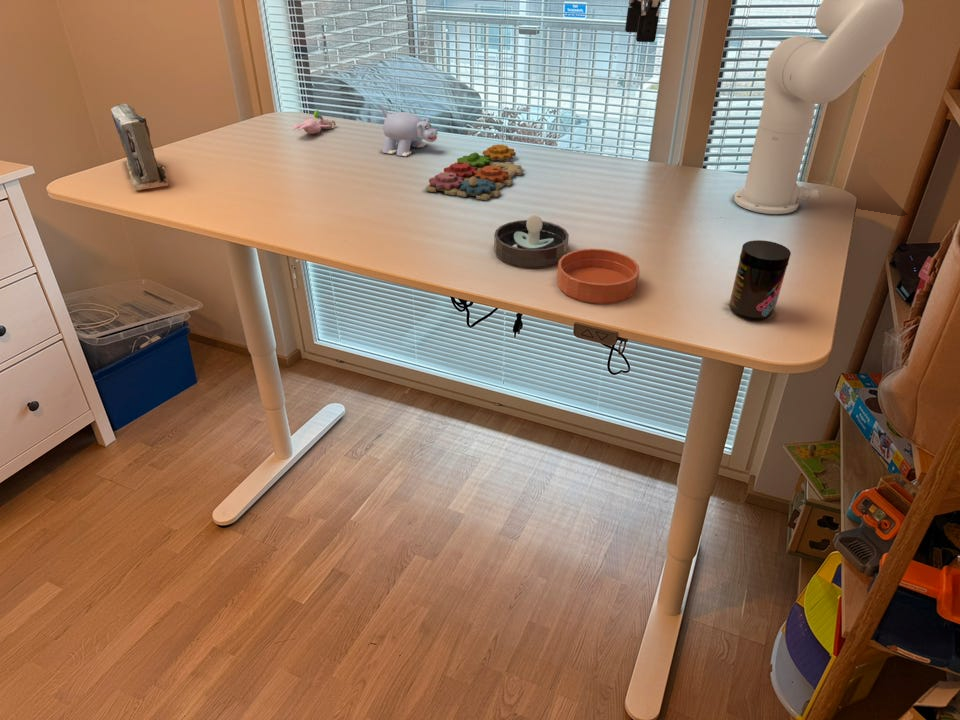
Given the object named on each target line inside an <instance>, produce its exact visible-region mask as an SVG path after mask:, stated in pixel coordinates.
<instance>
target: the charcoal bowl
mask: <svg viewBox="0 0 960 720" xmlns="http://www.w3.org/2000/svg"><path fill="white" fill-rule="evenodd" d="M527 220H528V219H522V220H515V221H509V222H507V223H504V224H501V225H500V226H499V227H497V228H496V229H495V231H494V234H493V235H494V236H493V241H494V242H493V252H494V254H495V255H496V257H498V259H499V260H501V262H503V263H505V264H507V265H510V266H512V267H517V268H523V269H543V268H544V269H545V268H549V267H552V266H556V265H558V261H559V260H560V259H561V258H562V256H564V255H566V254H568V249H569V238H570V237H569V236H570V235H569V232H568V231H567V230H566V229H565V228H564V227H563V226H560V225H559V224H555V223H552V222H550V221H545V220H542V222H543V226H542V229H541V231H540V238H539V240H543V239H550V238H553V239H554V241H553V242H552V243H551V244H549V245H547V246H545V247H543V248H544V249H535V250H534V249H523V247H519V248H517V247H512V246H513V245H515V244H517V243H516V242H515V240H514V233H515V232H518V231H519V232H524V233H526V234H528V230H527V226H526V223H527ZM522 238H523V239H526V238H525V237H522Z"/></svg>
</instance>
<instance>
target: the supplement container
mask: <svg viewBox="0 0 960 720" xmlns="http://www.w3.org/2000/svg"><path fill="white" fill-rule="evenodd" d="M791 254H792V252H791V250H790V249H789V248H787V246H785V245H783V244H781V243H778V242H775V241H769V240H762V239H761V240H760V239H756V240H749V241H746V242H745V243H743V244H742V246H741V251H740V254H739V259H738V265H737V269H736V273H735V277H734V280H733V281H734V282H733V286H732V291H731V294H730V299H729V303H728V306H729V310H730V311H731V313H732V314H733V315H734V316H735V317H738V318H740V319H742V320H745V321H751V322H763V321H767V320H769V319H771V318H772V317H773V315H774V314H775V310H776V308H777V304H778V300H779V297H780V294H781V289H782V286H783V283H784V279H785V275H786V272H787V268H788V266H789V263H790V258H791V256H792V255H791Z"/></svg>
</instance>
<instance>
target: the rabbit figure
mask: <svg viewBox="0 0 960 720" xmlns="http://www.w3.org/2000/svg"><path fill="white" fill-rule="evenodd" d="M313 116H314V118H315V119H318V120H315V119H313V118H307V119H305V120H304V121H303V122H297V123H295V124H293V126H292V131H295V130H297V132H298V131H301V130H304V132H305V133H307V134H310V135H316V134H318V133H320V132H321V130H331V129H332V128H333V127H334V128H336V127H337V126H336V120H335V119H334V120H333V119H332V120H329V119H328V118H324V117H323V116H322V115H321V114H319V110H318V109H317V110H314V112H313Z"/></svg>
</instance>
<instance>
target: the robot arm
mask: <svg viewBox="0 0 960 720" xmlns="http://www.w3.org/2000/svg"><path fill="white" fill-rule="evenodd" d="M666 1H667V0H629V1H628V7H627V11H626V18H625V19H626V20H625V28H624V31H625V32H626V33H636V37H635V40H636V42H638V43H654V42H655V41H656V38H657V31H658V26H659V19H660V13H661V8H660V7H661V4H662V3H664V2H666ZM904 12H905V11H904V2H903V0H822V1H821V3H820V4H819V6H818V8H817V10H816V13H815V17H814V21H815V23H814V24H815V27H816V29H817V30H818V31H819V33H820V34H821V35H822V36H825V37H826V38H827V39H826V40H825V41H822V40H820V39H816V38H814V37H812V36H811V37H810V36H806V35H796V36H790V37H788V38H786V39H784V40H782V41H781V42H780V43H779V44H777V46H775V48H774V49H773V50H772V52H771V54H770V55H769V58H768V61H767V64H766V69H765V77H764V92H763V93H764V94H763V100H762V108H761V111H760V117H759V121H758V125H757V129H756V133H755V138H754V143H753V147H752V152H751V157H750V159H749V165H748V169H747V174H746V178H745V183H744V187H743V188H741V189H739V190H737V191H736V192H735V193H734V196H733V200H734V203H735V204H736V205H738V206H739V207H741V208H743V209H745V210H749V211H751V212H755V213H760V214H765V215H785V214H791V213H793V212H795V211H797V209H798V208H799V205H800V201H801V200H802V199H807V200H818V198H819V197H820V190H819V189H813V188H812V189H810V186H807V185H806V186H805V185H802V186H800V185H798V183H797V181H798V178H799V174H800V170H801V167H802V162H803V158H804V154H805V151H806V147H807V143H808V140H809V136H810V132H811V129H812V125H813V122H814V117H815V111H816V105H825V104H828V103H830V102H833V101H835V100H836V99H838V98H839V97H841V96H842V95H843V94H844V93H846V91H848V90H849V89H850V87H851V86H853V84H854V83H855V82H856V81H857V80H858V79H859V78H860V77H861V75H862V74H863V73H864V72H865V71H866V70H867V69H868V68H869V67H870V65H871V64H872V63H874V61H875V60H876V59H877V57H879V55H880V54H881V53H882V52H883V51H884V50H885V49H886V48H887V46H888V45H889V44H890V43H891V41H892V40H893V39H894V37H895V36H896V34H897V32H898V30H899V28H900V26H901V24H902V22H903V18H904Z"/></svg>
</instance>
